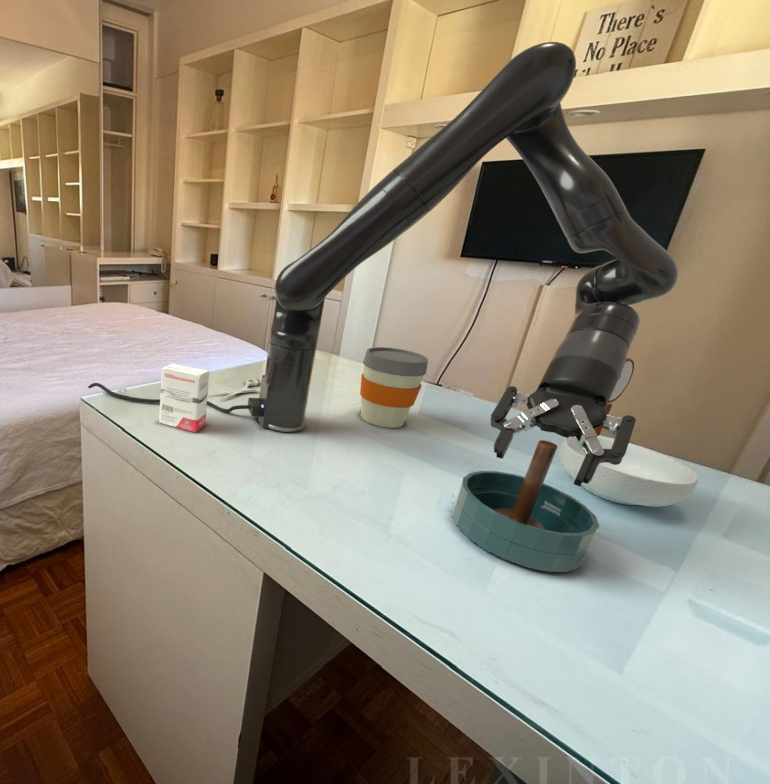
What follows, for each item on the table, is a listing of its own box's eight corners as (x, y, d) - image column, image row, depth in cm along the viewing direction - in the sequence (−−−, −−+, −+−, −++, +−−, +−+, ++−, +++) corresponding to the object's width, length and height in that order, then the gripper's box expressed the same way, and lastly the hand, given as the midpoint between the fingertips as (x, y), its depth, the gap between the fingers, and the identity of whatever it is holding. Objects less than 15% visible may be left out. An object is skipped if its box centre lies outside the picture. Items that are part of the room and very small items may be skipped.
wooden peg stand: (509, 546, 61) (544, 454, 56) (479, 519, 66) (509, 432, 61) (551, 547, 61) (590, 455, 56) (518, 519, 67) (551, 434, 62)
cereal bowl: (653, 534, 66) (674, 492, 64) (530, 478, 80) (543, 442, 78) (697, 507, 74) (717, 470, 72) (577, 460, 88) (591, 427, 85)
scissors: (286, 388, 114) (227, 402, 102) (285, 391, 114) (227, 405, 102) (255, 376, 122) (198, 388, 110) (255, 379, 122) (197, 391, 110)
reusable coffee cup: (423, 424, 100) (441, 359, 95) (390, 436, 93) (408, 366, 88) (373, 405, 109) (387, 344, 104) (340, 414, 103) (353, 350, 97)
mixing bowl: (499, 574, 56) (514, 534, 54) (430, 503, 70) (440, 469, 68) (612, 575, 57) (632, 536, 55) (522, 505, 71) (535, 472, 69)
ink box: (206, 424, 93) (210, 369, 89) (195, 433, 88) (200, 376, 84) (169, 415, 96) (172, 361, 92) (157, 423, 92) (160, 367, 88)
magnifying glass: (592, 448, 93) (632, 355, 86) (602, 452, 92) (643, 358, 85) (570, 455, 90) (610, 358, 83) (581, 460, 88) (622, 361, 81)
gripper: (523, 342, 65) (475, 436, 61) (662, 369, 55) (614, 481, 52) (520, 371, 70) (476, 459, 66) (646, 400, 60) (602, 504, 57)
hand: (536, 468), depth 59 cm, fingers open, 8 cm apart
